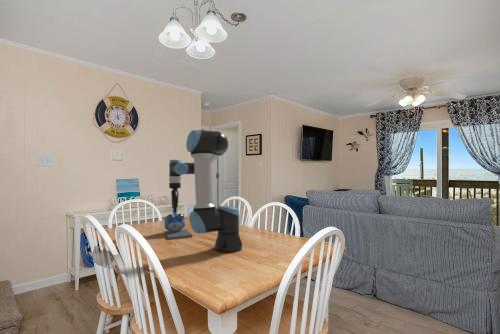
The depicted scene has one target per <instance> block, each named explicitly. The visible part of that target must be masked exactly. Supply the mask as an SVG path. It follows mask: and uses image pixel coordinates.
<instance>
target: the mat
mask: <svg viewBox="0 0 500 334" xmlns="http://www.w3.org/2000/svg"><path fill="white" fill-rule="evenodd" d="M163 234H164V236H165V237H166V238H167V240H168V241H169V240H177V239H178V240H179V239H186V238H193V234H192V232H190V231H189V230H188V229H187V228H183V229H181V230H171V231H169V230H164V232H163Z"/></svg>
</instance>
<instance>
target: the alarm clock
mask: <svg viewBox="0 0 500 334" xmlns="http://www.w3.org/2000/svg"><path fill="white" fill-rule="evenodd" d="M185 226H186V219H185V216H184V214H183V213H177V214H172V213H169V214H167V215H166V217H165V218H164V228H165V230H166V231H171V230H181V229H185Z"/></svg>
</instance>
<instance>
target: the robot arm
mask: <svg viewBox="0 0 500 334" xmlns="http://www.w3.org/2000/svg"><path fill="white" fill-rule="evenodd" d="M185 145H186V148H185V149H186V150H187V152H188V153H190V157H192V158H193V161H194V162H182V160H181V159H170V160H169V164H168V166H169V167H168V169H169V174H168V177H169V178H168V179H169V181H168V182H169V183H168V186H169V187H168V188H169V189H171V192H170V195H171V208H172V212H171V214H178V207H179V206H178V205H179V196H180V195H179V190H178V189H181V187H182V185H181V184H182V183H181V182H182V180H181V179H182V175H194V186H195V187H194V190H195V191H194V193H195V205H194V206H193V207H192V209H193V210H192V211H190V212H189V217H188V218H189V225H190V227H191V229H192V231H193V232H194V233H195V234H197V235H199V234H206V233H212V232H213V233H214V232H217V236H216V239H215V243H214V250H215V251H216V252H219V253H235V252H238V251H241V250H242V249H243V242H242V239H241V237H240V210H239V208H238V207H235V206H232V205H218V206H217V207H216V205H215V204H214V203H213V191H212V190H213V187H212V186H213V185H212V168H211V167H212V166H211V164H213V163H214V161H215V160H216V159H218V158H219V157H220V156H223V155H224V154H225V153H226V152H227V150H228V149H229V141H228V137H227V136H226V135H225V134H224V133H222V132H221V131H218V130H216V131H215V130H205V129H192V130H191V131H189V133H188V135H187V138H186V144H185Z"/></svg>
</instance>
